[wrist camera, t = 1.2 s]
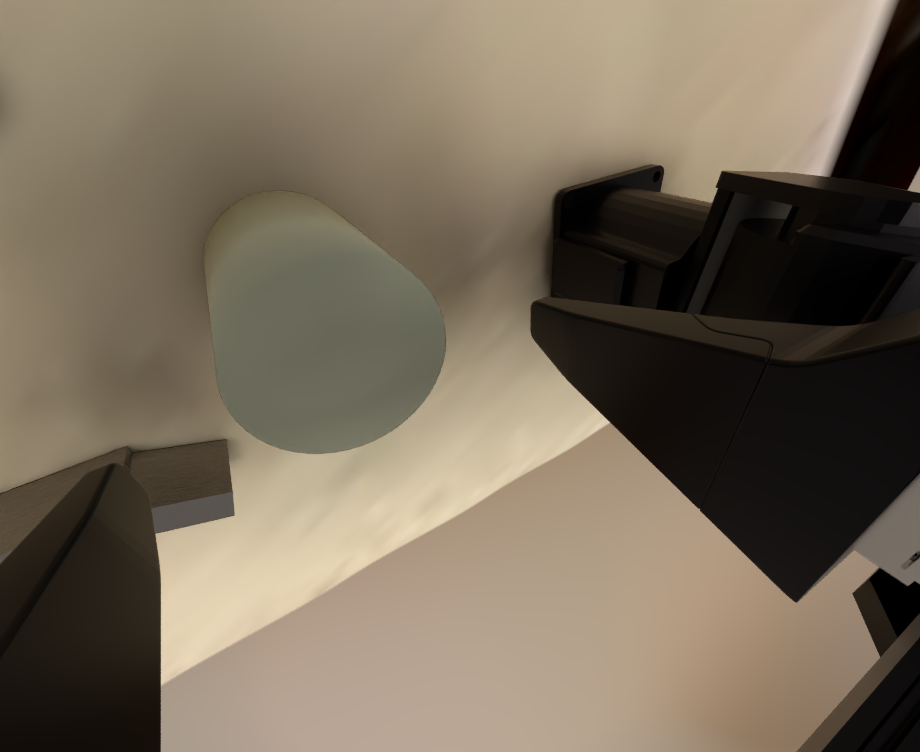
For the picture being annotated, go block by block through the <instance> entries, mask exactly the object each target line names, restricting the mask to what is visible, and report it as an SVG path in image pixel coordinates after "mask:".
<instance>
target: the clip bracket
mask: <svg viewBox="0 0 920 752" xmlns="http://www.w3.org/2000/svg"><path fill="white" fill-rule="evenodd" d="M109 463H119V464H120V465H122V466H123V467H124V468H125V469H126V470H127V471H128V472H129V473H130V474H131V475H132V476H133V477H134V478H135V479H136V480H137V481H138V482H139V483H140V484H141V485H142V486H143V488H144V489H145V490H146V491H147V493H148V495H149V498H150V502H151V508H152V515H153V522H154V529H155V534H156V533H161V532H165V531H169V530H174V529H178V528H183V527H187V526H191V525H196V524H200V523H204V522H209V521H213V520H217V519H222V518H226V517H230V516H235V515H234V503H233V491H232V483H231V474H230V465H229V457H228V448H227V440H221V441H214V442H207V443H199V444H192V445H185V446H178V447H171V448H164V449H157V450H150V451H143V452H136V453H133V452H132V451H131V450H130V449H129V448H128V447H124V448H121V449H119V450H116V451H113V452H111V453H108V454H105V455H103V456H100V457H97V458H95V459H92V460H89V461H87V462H84V463H81V464H79V465H76V466H73V467H71V468H68V469H66V470H63V471H60V472H58V473H55V474H52V475H50V476H47V477H44V478H42V479H39V480H36V481H34V482H31V483H28V484H26V485H23V486H20V487H18V488H15V489H12V490H10V491H7V492H4V493H2V494H0V563H1V562H2V561H3V560H4V559H5V558H6V557H7V556H8V555H9V554H10V553H11V552H12V551H13V550H14V549H15V548H16V547H17V545H18V544H19V543H20V542H21V541H22V540H23V539H24V538H25V537H26V536H27V535H28V534H29V533H30V532H31V531H32V530H33V529H34V528H35V527H36V525H37V524H38V523H39V522H40V521H41V520H42V519H43V518H44V517H45V516H46V515H47V514H48V513H49V512H50V511H51V510H52V509H53V508H54V507H55V505H56V504H57V503H58V502H59V501H60V500H61V499H62V498H63V497H64V496H65V495H66V494H67V493H68V492H69V491H70V490H71V489H72V488H73V487H74V486H75V484H76V483H77V482H78V481H79V480H80V479H81V478H82V477H83V476H84V475H85V474H86V473H87V472H89V471H91V470H94V469H96V468H99V467H102V466H104V465H107V464H109Z"/></svg>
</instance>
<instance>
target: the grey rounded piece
mask: <svg viewBox="0 0 920 752" xmlns="http://www.w3.org/2000/svg"><path fill="white" fill-rule="evenodd" d="M204 268H205V277H206V286H207V296H208V305H209V314H210V323H211V333H212V342H213V351H214V361H215V370H216V378H217V385H218V388H219V391H220V394H221V398H222V400H223V401H224V403H225V405H226V407H227V409H228V411H229V412H230V413H231V415H232V416H233V418H234V419H235V420H236V421H237V422H238V423H239V424H240V425H241V426H242V427H243V428H244V429H245V430H246V431H247V432H249V433H250V434H252V435H253V436H254V437H256V438H257V439H259V440H261V441H263V442H265V443H267V444H269V445H272V446H274V447H277V448H280V449H283V450H288V451H292V452H298V453H307V454H324V453H335V452H340V451H345V450H349V449H353V448H356V447H360V446H362V445H365V444H367V443H370V442H372V441H374V440H376V439H378V438H380V437H382V436H384V435H386V434H387V433H389V432H391V431H392V430H394V429H395V428H397V427H398V426H399V425H400V424H402V423H403V422H404V421H406V420H407V419H408V418H409V417H410V416H411V415H412V414H413V413H414V412H415V411H416V410H417V409H418V408H419V406H420V405H421V404H422V403H423V402H424V400H425V399H426V398H427V396H428V395H429V393H430V391H431V390H432V388H433V386H434V385H435V383H436V380H437V378H438V376H439V374H440V371H441V367H442V364H443V360H444V355H445V347H446V333H445V325H444V320H443V316H442V313H441V311H440V308H439V305H438V303H437V302H436V300H435V298H434V296H433V295H432V293H431V292H430V291H429V289H428V288H427V287H426V285H425V284H424V283H423V282H422V281H421V280H420V279H419V278H417V277H416V276H415V275H414V274H413V273H412V272H410V271H409V270H408V269H407V268H405V267H404V266H403V265H402V264H400V263H399V262H398V261H397V260H395V259H394V258H393V257H391V256H390V255H389V254H388V253H386V252H385V251H384V250H383V249H381V248H380V247H379V246H378V245H376V244H375V243H374V242H373V241H371V240H370V239H369V238H368V237H366V236H365V235H364V234H363V233H361V232H360V231H359V230H358V229H356V228H355V227H354V226H352V225H351V224H350V223H349V222H347V221H346V220H345V219H344V218H342V217H341V216H340V215H339V214H337V213H336V212H335V211H334V210H332V209H331V208H329V207H328V206H327V205H325V204H324V203H322V202H320V201H318V200H316V199H314V198H311V197H309V196H306V195H303V194H299V193H295V192H288V191H269V192H262V193H258V194H254V195H251V196H248V197H246V198H244V199H242V200H240V201H238V202H236V203H235V204H233V205H232V206H230V207H229V208H228V209H227V210H226V211H225V212H224V213H223V214H222V215H221V216H220V217H219V218H218V220H217V221H216V222H215V224H214V225H213V227H212V229H211V231H210V233H209V236H208V238H207V241H206V246H205V251H204Z"/></svg>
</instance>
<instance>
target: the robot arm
mask: <svg viewBox="0 0 920 752" xmlns="http://www.w3.org/2000/svg"><path fill="white" fill-rule="evenodd" d="M663 175H664V169H663V167H662V166H660V165H648V166H645V167H641V168H637V169H634V170H630V171H627V172H623V173H619V174H616V175H612V176H609V177H605V178H602V179H598V180H594V181H591V182H587V183H584V184H580V185H576V186H573V187H569V188H566V189H563V190H561V191H560V193H559V194H558V195H557V198H556V202H555V220H554V243H553V266H552V289H551V297H544V298H542V299H539V300H537V301H534V302H533V303H532V305H531V328H530V330H531V335H532V337H533V339H534V341H535V342H536V343H537V344H538V346H539V347H540V348H541V349H542V350H543V352H544V353H545V354H546V355H547V356H548V358H549V359H550V360H551V361H552V363H553V364H554V365H555V366H556V367H557V369H558V370H559V371H560V372H561V374H562V375H563V376H564V377H565V378H566V379H567V380H568V381H569V382H570V383H571V384H572V386H573V387H575V388H576V389H577V390H578V391H579V392H580V393H581V394H582V395H583V396H584V397H585V398H586V399H587V400H588V401H589V402H590V403H591V404H592V405H593V406H594V407H595V408H596V409H597V410H598V411H599V412H600V413H601V414H602V415H603V416H604V417H605V418H606V419H607V420H608V421H609V422H610V423H611V424H612V425H613V426H615V428H617V429H618V430H619V432H620V433H622V434H623V435H624V436H625V437H626V438H627V439H628V440H629V441H630V442H631V443H632V444H633V445H634V446H635V447H636V448H637V449H638V450H639V451H640V452H641V453H642V454H643V455H644V456H645V457H646V458H647V459H648V460H649V461H650V462H651V463H652V464H653V465H654V466H655V467H656V468H657V469H658V470H659V471H660V472H662V474H664V475H665V477H667V478H668V479H669V480H670V481H671V482H672V483H673V484H674V485H675V486H676V487H677V488H678V489H679V490H680V491H681V492H682V493H683V494H684V495H685V496H686V497H687V498H688V499H689V500H690V501H691V502H692V503H693V504H694V505H695V506H696V507H697V508H699V509H700V511H701V512H702V513H703V514H704V515H705V516H706V517H707V518H708V519H709V520H710V521H711V522H712V523H713V524H714V525H715V526H716V527H717V528H718V529H719V530H720V531H721V532H722V533H723V534H724V535H725V536H727V537H728V538H729V539H730V540H731V541H732V542H733V543H734V544H735V545H736V546H737V547H738V548H739V549H740V550H741V551H742V552H743V553H744V554H745V555H746V556H747V557H748V558H749V559H750V560H751V561H752V562H753V563H754V564H755V565H756V566H757V567H758V568H759V569H760V570H761V571H762V572H763V573H764V574H765V575H766V576H767V577H768V578H769V579H770V580H771V581H772V582H773V583H774V584H775V585H776V586H778V587H779V588H780V589H781V590H782V591H783V592H784V593H785V594H786V595H787V596H788V597H789V598H791V599H792V600H793V601H794V602H796V603H797V602H798V601H799V600H800V599H802V598H803V597H804V596H805V595H806V594H807V593H808V592H809V591H810V590H811V589H812V588H813V587H815V586H816V585H817V584H818V583H819V582H820V581H821V580H822V579H823V578H824V577H825V576H827V575H828V574H829V573H830V572H831V571H832V570H833V569H834V568H835V567H836V566H837V565H838V564H839V563H841V562H842V561H843V560H844V559H845V558H846V557H847V556H848V555H849V554H850V553H851V552H853V551H854V550H855V551H856V552H858V553H859V554H860V555H862V556H863V557H865V558H866V559H868V560H869V561H871V562H872V563H874V564H875V565H876V566H878V567H879V568H878V569H877V570H876V571H875V572H874V573H873V574H872V575H871V576H870V577H869V578H868V579H867V580H866V581H865V582H864V583H863V584H862V585H861V586H860V587H859V588H857V589H856V590H855V592H853V596H854V598H855V600H856V602H857V605H858V607H859V609H860V612H861V614H862V616H863V619H864V621H865V623H866V625H867V628H868V630H869V632H870V634H871V637H872V639H873V642H874V644H875V646H876V649H877V651H878V653H879V655H880V659H879V660H878V661H877V662H876V663H875V664H874V665H873V666H872V668H871V669H870V670H869V671H868V672H867V673H866V674H865V675H864V677H863V678H862V679H861V680H860V681H859V682H858V683H857V684H856V686H855V687H854V688H853V689H852V690H851V691H850V692H849V693H848V695H847V696H846V697H845V698H844V699H843V700H842V701H841V702H840V704H839V705H838V706H837V707H836V708H835V709H834V710H833V711H832V713H831V714H830V715H829V716H828V717H827V718H826V719H825V720H824V722H823V723H822V724H821V725H820V726H819V727H818V728H817V729H816V730H815V732H814V733H813V734H812V735H811V736H810V737H809V738H808V739H807V741H806V742H805V743H804V744H803V745H802V746H801V747H800V748H799V750H798V751H797V752H920V193H917V192H911V191H907V190H902V189H897V188H892V187H887V186H882V185H877V184H872V183H867V182H862V181H857V180H849V179H841V178H832V177H823V176H815V175H806V174H797V173H787V172H749V171H722V172H721V174H720V177H719V180H718V182H717V185H716V188H718V190H717V193H716V195H715V198H714V200H713V203H709V202H704V201H699V200H695V199H690V198H685V197H680V196H676V195H671V194H666V193H661V192H660V191H661V186H662V180H663ZM567 198H568V202H567V204H566V205H565V203H566V200H567ZM160 745H161V575H160V564H159V556H158V549H157V543H156V536H155V529H154V522H153V515H152V508H151V502H150V498H149V495H148V493H147V491H146V490H145V489H144V488H143V486H142V485H141V484H140V483H139V482H138V481H137V480H136V479H135V478H134V477H133V476H132V475H131V474H130V473H129V472H128V471H127V470H126V469H125V468H124V467H123V466H122V465H120V464H119V463H109V464H107V465H104V466H102V467H99V468H96V469H94V470H91V471H89V472H87V473H86V474H85V475H84V476H83V477H82V478H81V479H80V480H79V481H78V482H77V483H76V484H75V486H74V487H73V488H72V489H71V490H70V491H69V492H68V493H67V494H66V495H65V496H64V497H63V498H62V499H61V500H60V501H59V502H58V503H57V504H56V505H55V507H54V508H53V509H52V510H51V511H50V512H49V513H48V514H47V515H46V516H45V517H44V518H43V519H42V520H41V521H40V522H39V523H38V524H37V525H36V527H35V528H34V529H33V530H32V531H31V532H30V533H29V534H28V535H27V536H26V537H25V538H24V539H23V540H22V541H21V542H20V543H19V544H18V545H17V547H16V548H15V549H14V550H13V551H12V552H11V553H10V554H9V555H8V556H7V557H6V558H5V559H4V560H3V561H2V562H1V563H0V752H161V746H160Z"/></svg>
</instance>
